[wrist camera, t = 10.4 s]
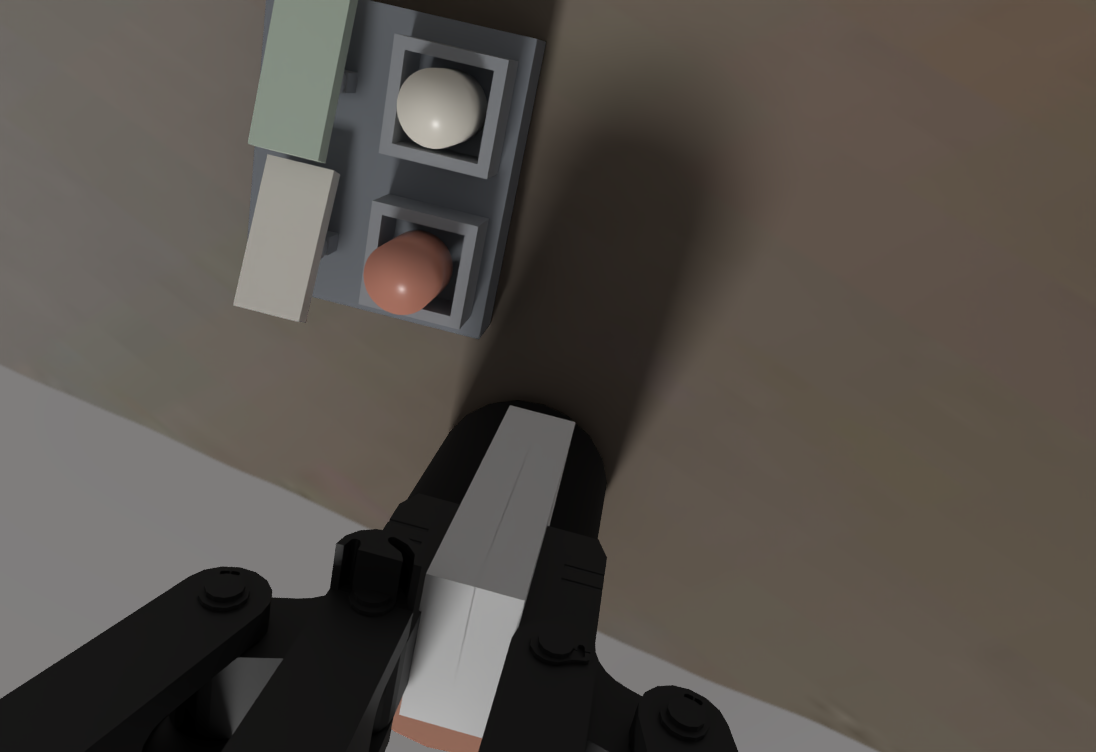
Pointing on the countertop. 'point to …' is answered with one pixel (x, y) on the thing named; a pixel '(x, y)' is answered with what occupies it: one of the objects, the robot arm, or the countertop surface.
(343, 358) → the countertop surface
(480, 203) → the panel
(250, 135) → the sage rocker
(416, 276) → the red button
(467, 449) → the coffee jar
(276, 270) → the block
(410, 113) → the ivory button
